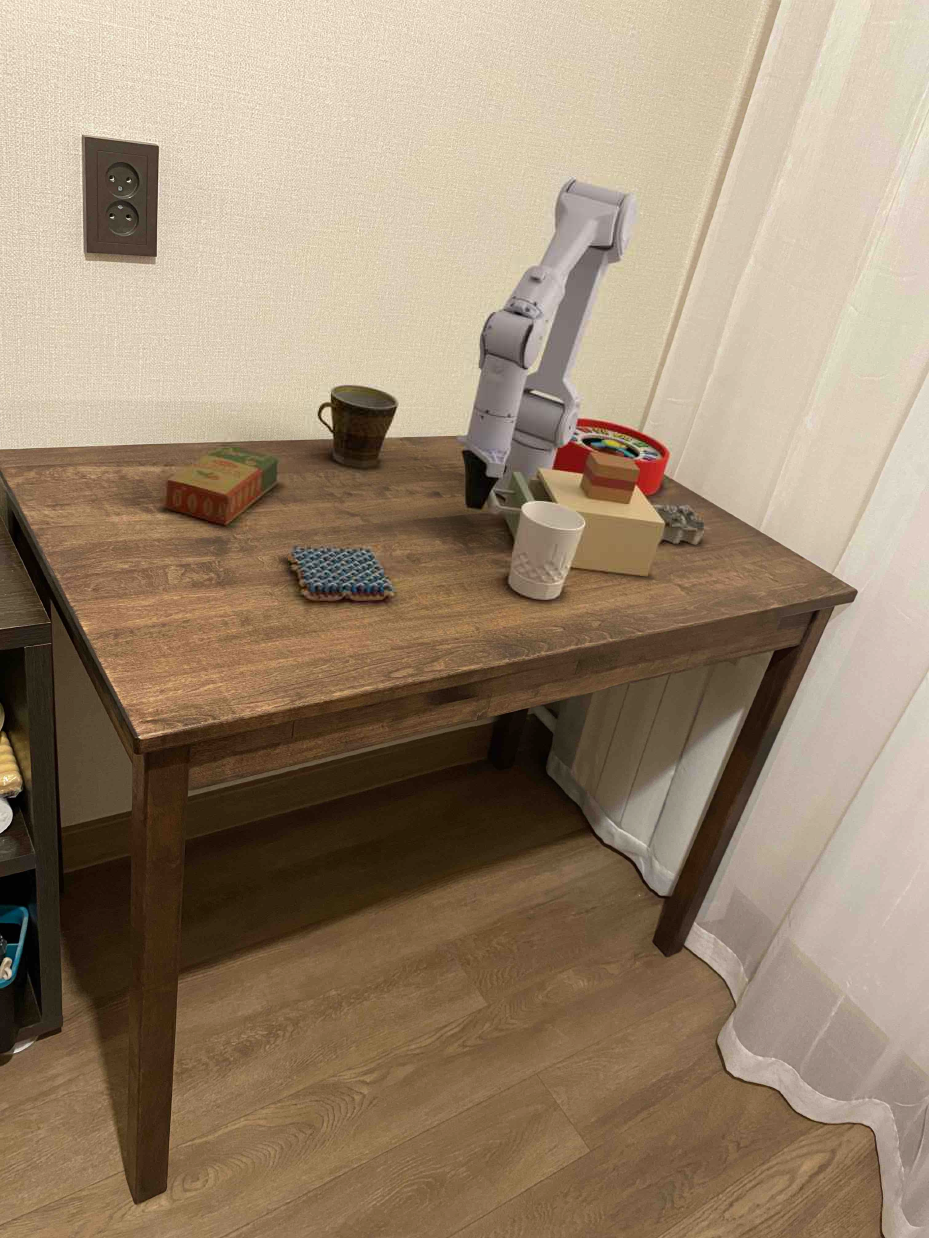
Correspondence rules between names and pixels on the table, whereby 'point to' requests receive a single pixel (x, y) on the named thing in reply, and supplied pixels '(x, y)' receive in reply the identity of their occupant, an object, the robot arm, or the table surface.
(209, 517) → the carton
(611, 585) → the table surface
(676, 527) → the egg carton
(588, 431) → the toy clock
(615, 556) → the shallow tan box
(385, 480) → the table surface
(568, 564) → the white cup
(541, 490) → the drawer
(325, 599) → the woven mat
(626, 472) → the packet
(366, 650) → the table surface
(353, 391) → the ceramic cup
